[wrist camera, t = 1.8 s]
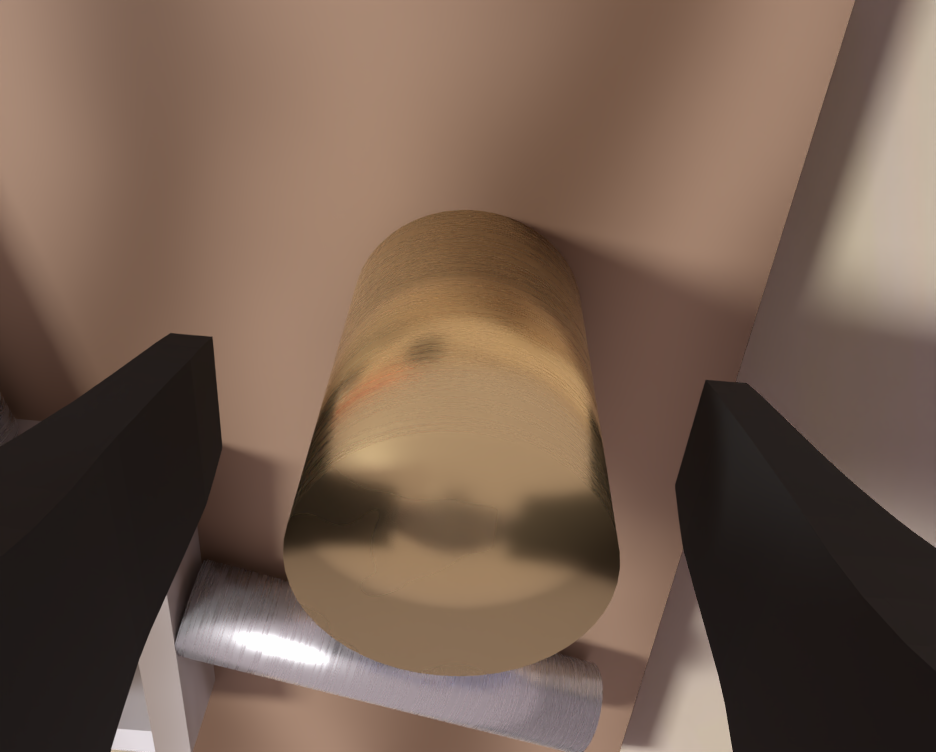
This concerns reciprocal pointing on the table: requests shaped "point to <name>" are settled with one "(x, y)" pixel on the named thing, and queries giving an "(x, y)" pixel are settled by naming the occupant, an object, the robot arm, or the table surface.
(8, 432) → the shaft
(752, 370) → the table surface
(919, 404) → the table surface
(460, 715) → the shaft
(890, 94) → the table surface
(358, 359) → the brass cylinder
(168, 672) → the plate
